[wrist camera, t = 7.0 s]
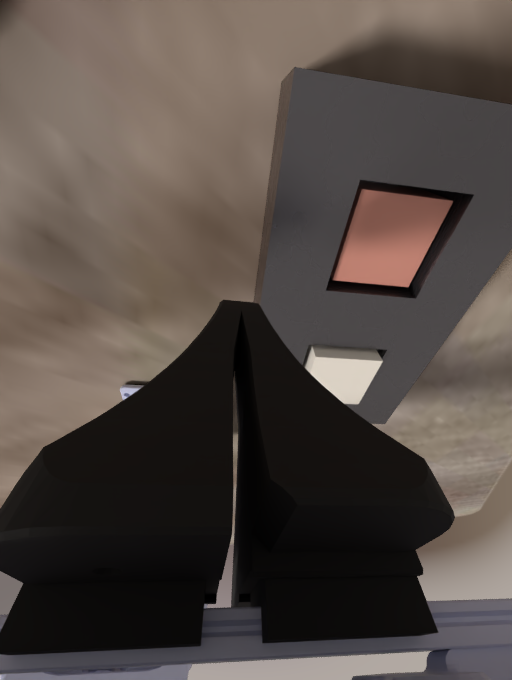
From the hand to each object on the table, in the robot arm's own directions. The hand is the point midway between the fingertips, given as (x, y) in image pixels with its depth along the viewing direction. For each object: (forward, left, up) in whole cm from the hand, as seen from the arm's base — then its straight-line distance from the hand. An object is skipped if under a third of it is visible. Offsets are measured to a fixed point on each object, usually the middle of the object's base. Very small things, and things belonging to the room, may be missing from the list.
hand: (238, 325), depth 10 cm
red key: (+2, -7, -8) cm, 11 cm away
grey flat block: (-3, -7, -9) cm, 12 cm away
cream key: (-7, -7, -7) cm, 12 cm away
